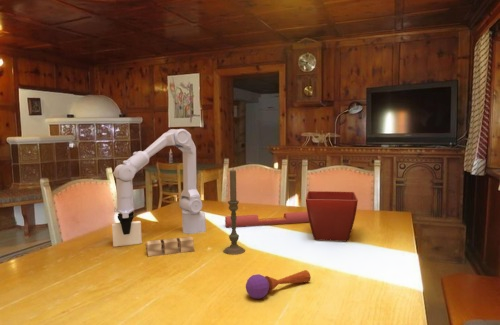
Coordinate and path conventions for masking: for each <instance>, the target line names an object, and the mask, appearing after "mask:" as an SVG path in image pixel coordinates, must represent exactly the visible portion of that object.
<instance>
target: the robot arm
mask: <svg viewBox="0 0 500 325" xmlns="http://www.w3.org/2000/svg"><path fill="white" fill-rule="evenodd" d="M169 146H174V147H176V148H177V149H178V150H180V151H181V152H182V178H183V179H182V180H183V181H182V182H183V183H182V184H183V186H182V187H183V188H182V189H183V190H182V191H181V193H180V199H179V202H178V205H179V206H178V207H179V208H180V209H181V216H182V217H181V218H182V221H181V223H182V233H183V234H186V235H192V234H198V233H199V234H200V233H206V232H207V230H206V229H207V226H206V225H207V224H206V214H205V212H204V211H202V209H203V202H202V199H201V195H200V193H199V191H198V189H197V183H198V182H197V147H196V145H195V143H194V140H193V138H192V134H191V133H190V132H189V131H188V130H187V129H185V128H179V129H178V128H177V129H174V128H172V129H171V128H170V129H169V130H168V131H166V132H164V133H162V135H161V136H159V137H158V138H157V139H156V140H155V141H154V142H153V143H151V144H149V146H148V147H146V149H144V150H143V151H142V150H139V151H134V152H133V153H132V155H131V156H130V157H129V158H128V159H126V160H123V161H122V164H118V165H116V167H115V168H114V171H113V172H112V173H113V176H114V177H115V184H116V186H115V190H116V208H114V209H113V211H114V213H115V212H117V220H118V222H119V223H121V226H122V231H123V234H124V235H126V234H130V229H131V223H132V222H133V219H134V217H135V215H134V214H135V212H134V211H135V206H134V189H133V188H134V186H133V179H134V177H135V176H136V173H138V172H139V171H140V170H142V169H143V167H145V166H146V165H148V164H149V163H150V158H151V157H152V156H154V155H156V153H158V152H160V151H161V150H162V149H164V148H165V147H169Z"/></svg>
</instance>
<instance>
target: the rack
mask: <svg viewBox="0 0 500 325" xmlns="http://www.w3.org/2000/svg"><path fill="white" fill-rule="evenodd" d="M183 237H184V236H183ZM183 237H175V238H176V239H177V241H178V253H171V254H170V255H174V254H175V255H177V254H183V253H186V252H181V251H180V246H179V238H183ZM173 238H174V237H173ZM173 238H172V237H171V239H173ZM159 240H160V241H161V251H162V255H154V256H153V257H157V256H158V257H159V256H166V255H169V254H165V253H164V241H163V240H164V239H159ZM152 241H154V240H152ZM145 250H146V257H147V258H151V257H152V256H148V249H147V244H145ZM192 252H195V250H194V251H188V252H187V253H192Z"/></svg>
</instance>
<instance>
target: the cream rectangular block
mask: <svg viewBox="0 0 500 325" xmlns="http://www.w3.org/2000/svg"><path fill="white" fill-rule="evenodd" d="M111 224H112V225H111V226H112V228H111V229H112V247H115V248H116V247H121V246H123V247H124V246H132V245H139V244H143V242H142V239H143V238H142V222H141V220H136V221H135V220H134V221H133V220H132V223H131V229H130V234H126V235H124V234H123V231H122V226H121V223H120V222H112V223H111Z"/></svg>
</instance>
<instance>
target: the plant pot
mask: <svg viewBox="0 0 500 325" xmlns="http://www.w3.org/2000/svg"><path fill="white" fill-rule="evenodd" d="M358 201H359V200H358V197H357V195H356V193H355V192H354V191H323V190H321V191H319V190H317V191H314V190H313V191H307V194H306V197H305V204H306V205H305V206H306V210H307V211H306V212H308V217H309V222H308V223H309V225H310V229H311V233H312V235H313V236H312V237H313V238H314V240H315V241H332V242H334V241H335V242H348V241H349V239H350V237H351V234H352V231H353V228H354V224H355V220H356V214H357V210H358Z"/></svg>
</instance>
